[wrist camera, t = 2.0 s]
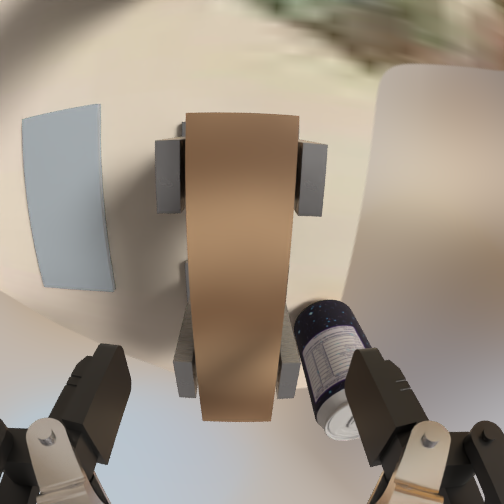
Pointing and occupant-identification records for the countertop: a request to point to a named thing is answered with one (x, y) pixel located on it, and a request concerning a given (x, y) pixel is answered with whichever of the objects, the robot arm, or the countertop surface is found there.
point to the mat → (67, 198)
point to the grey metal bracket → (174, 183)
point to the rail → (239, 255)
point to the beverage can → (329, 362)
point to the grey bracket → (187, 362)
